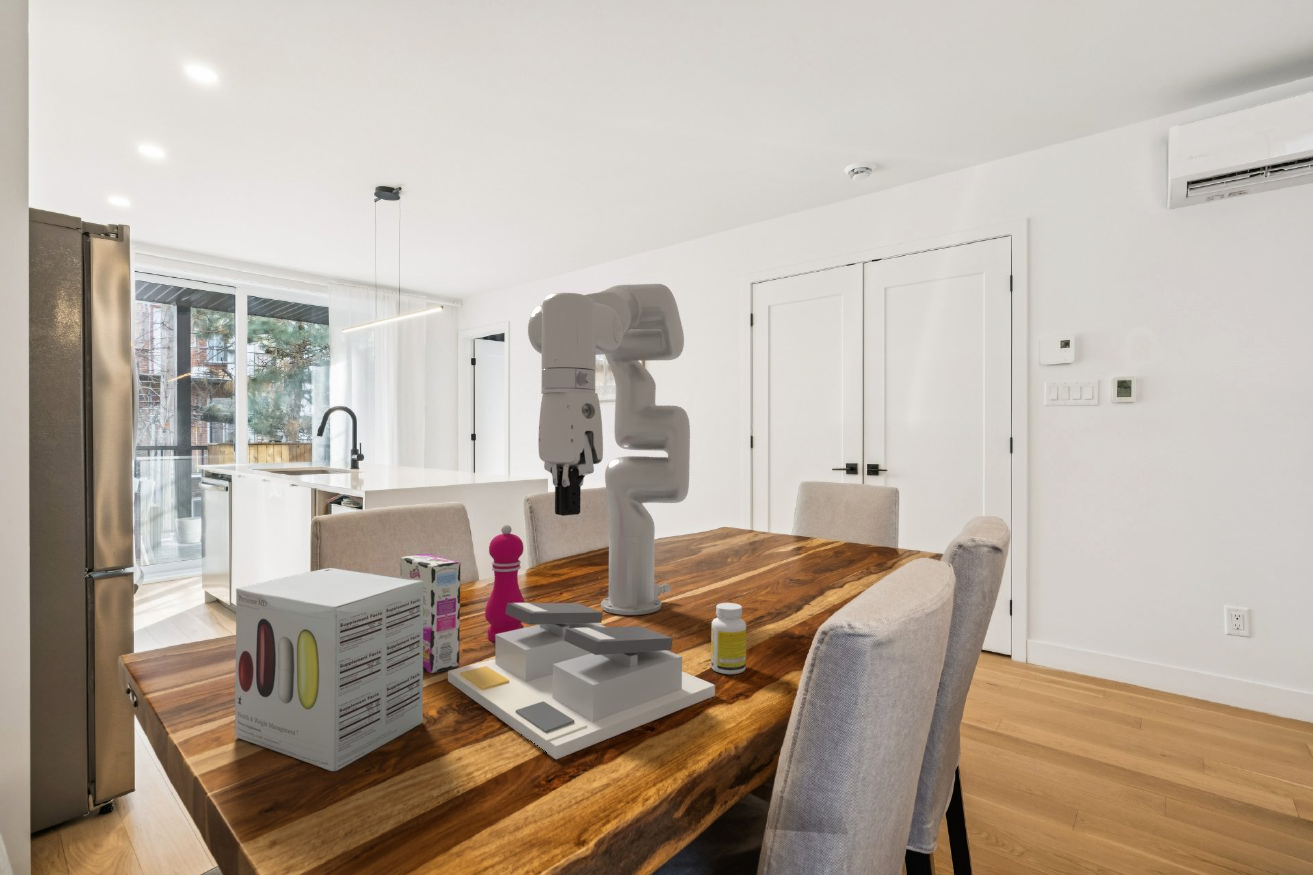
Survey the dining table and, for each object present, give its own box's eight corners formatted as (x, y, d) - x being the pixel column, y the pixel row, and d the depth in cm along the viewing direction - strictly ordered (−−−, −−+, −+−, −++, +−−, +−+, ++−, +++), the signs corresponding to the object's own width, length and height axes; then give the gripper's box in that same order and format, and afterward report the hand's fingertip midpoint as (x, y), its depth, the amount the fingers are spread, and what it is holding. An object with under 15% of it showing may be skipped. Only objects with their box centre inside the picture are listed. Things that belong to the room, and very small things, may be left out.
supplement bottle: (753, 670, 96) (753, 607, 96) (725, 678, 93) (726, 612, 93) (731, 660, 101) (731, 599, 101) (704, 666, 98) (704, 604, 98)
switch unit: (592, 642, 109) (592, 599, 109) (714, 695, 87) (715, 641, 87) (446, 681, 91) (446, 630, 91) (553, 760, 69) (553, 693, 69)
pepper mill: (531, 631, 114) (532, 522, 114) (519, 644, 107) (519, 528, 107) (493, 629, 115) (494, 521, 115) (478, 642, 108) (479, 527, 108)
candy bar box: (461, 666, 97) (462, 561, 97) (431, 675, 93) (432, 566, 93) (427, 649, 105) (427, 551, 105) (397, 656, 101) (398, 555, 101)
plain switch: (638, 637, 91) (640, 624, 91) (671, 649, 85) (673, 636, 86) (564, 640, 82) (566, 627, 82) (595, 655, 77) (597, 640, 77)
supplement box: (229, 741, 73) (230, 588, 73) (329, 697, 85) (330, 566, 85) (333, 774, 66) (334, 605, 66) (426, 722, 78) (427, 579, 78)
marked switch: (575, 612, 103) (577, 602, 103) (601, 622, 97) (603, 611, 98) (505, 613, 94) (507, 601, 94) (529, 624, 89) (531, 612, 89)
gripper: (622, 382, 84) (621, 517, 85) (561, 387, 96) (561, 507, 96) (576, 379, 79) (575, 522, 80) (518, 385, 91) (517, 511, 91)
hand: (567, 514), depth 88 cm, fingers closed
